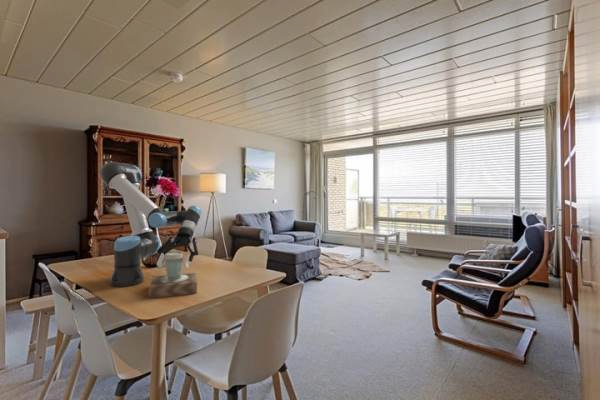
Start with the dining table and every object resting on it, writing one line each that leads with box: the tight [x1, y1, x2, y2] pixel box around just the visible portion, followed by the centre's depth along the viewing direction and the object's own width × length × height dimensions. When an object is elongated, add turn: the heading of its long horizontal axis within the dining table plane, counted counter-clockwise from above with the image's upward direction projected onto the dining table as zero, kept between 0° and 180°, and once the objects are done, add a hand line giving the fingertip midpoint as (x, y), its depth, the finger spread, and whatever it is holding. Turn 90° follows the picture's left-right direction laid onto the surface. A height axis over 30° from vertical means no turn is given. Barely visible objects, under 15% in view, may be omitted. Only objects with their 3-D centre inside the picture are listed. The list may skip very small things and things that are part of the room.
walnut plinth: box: [148, 272, 198, 299], centre depth 143 cm, size 20×18×5 cm
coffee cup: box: [164, 251, 185, 280], centre depth 142 cm, size 8×8×12 cm
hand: (172, 266), depth 140 cm, fingers open, 13 cm apart
